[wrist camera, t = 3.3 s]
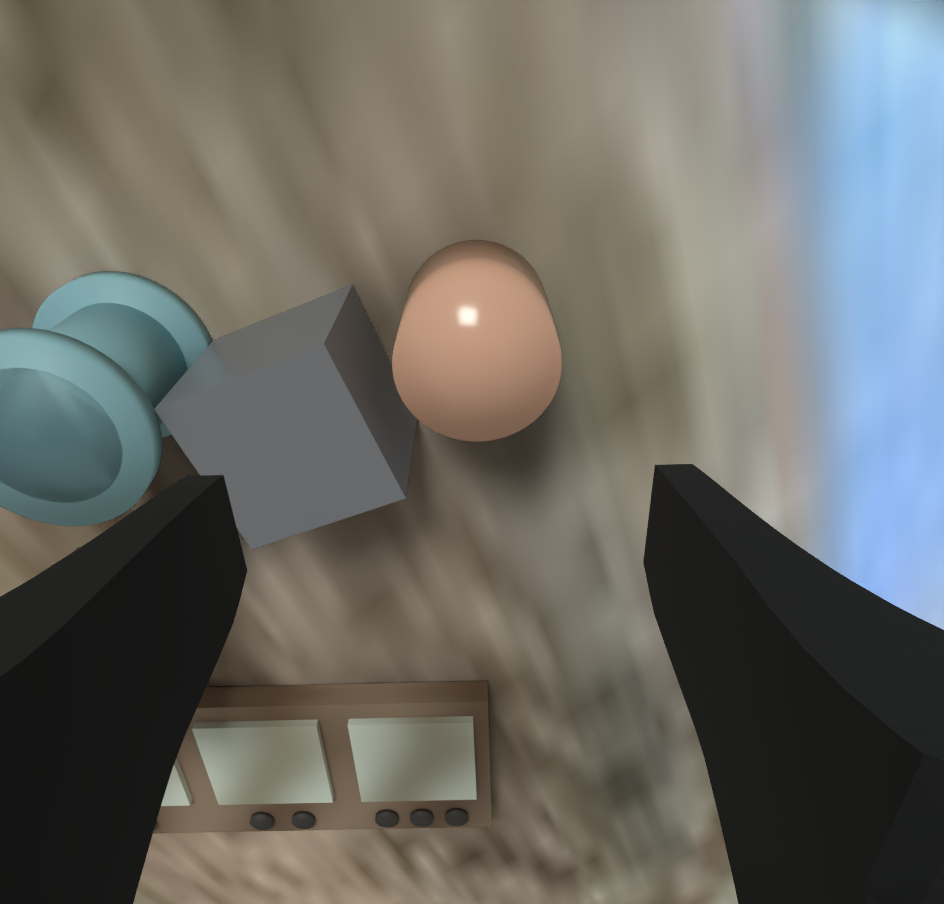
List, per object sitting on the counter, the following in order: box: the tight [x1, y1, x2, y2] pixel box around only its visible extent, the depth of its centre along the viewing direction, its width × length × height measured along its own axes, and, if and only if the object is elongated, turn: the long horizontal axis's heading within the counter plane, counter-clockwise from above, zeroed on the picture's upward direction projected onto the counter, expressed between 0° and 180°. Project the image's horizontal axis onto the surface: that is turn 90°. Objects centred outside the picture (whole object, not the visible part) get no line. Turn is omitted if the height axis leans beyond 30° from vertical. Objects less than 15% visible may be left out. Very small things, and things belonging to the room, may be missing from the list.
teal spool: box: [0, 271, 212, 526], centre depth 19 cm, size 5×5×5 cm
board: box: [153, 681, 492, 833], centre depth 29 cm, size 18×8×1 cm, turn 92°
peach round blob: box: [392, 240, 562, 442], centre depth 18 cm, size 4×4×4 cm
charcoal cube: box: [154, 284, 417, 549], centre depth 19 cm, size 4×4×4 cm
